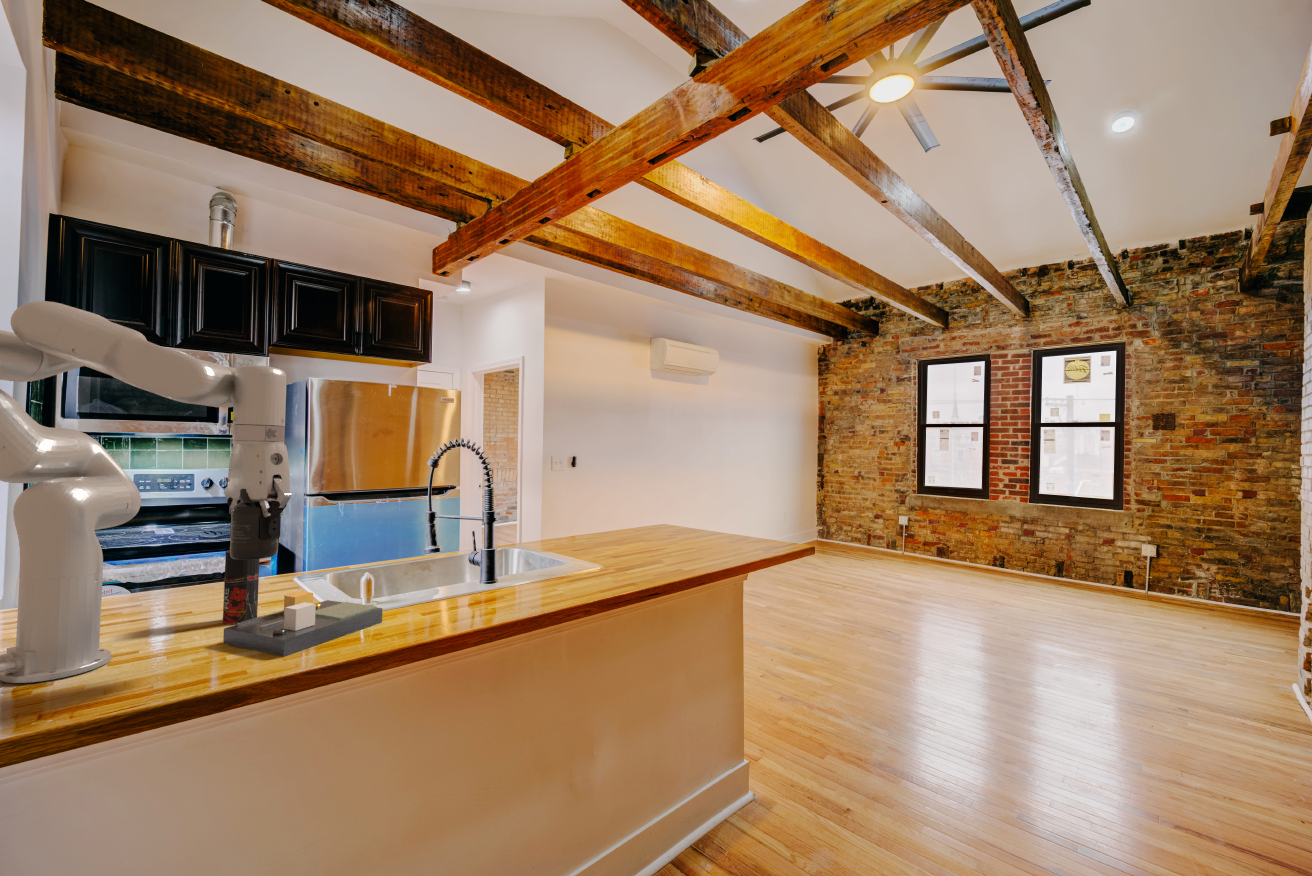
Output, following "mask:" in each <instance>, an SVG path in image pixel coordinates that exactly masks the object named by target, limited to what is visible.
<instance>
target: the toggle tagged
mask: <svg viewBox="0 0 1312 876" xmlns="http://www.w3.org/2000/svg"><path fill="white" fill-rule="evenodd" d="M283 600H284V602H283V610H284V616H285V607H289V606H293V605H296V604H300V603H304V602H305V603H312V604H313V603H314V592H311V591H299V592H295V593H291V594H286V595H284V597H283Z"/></svg>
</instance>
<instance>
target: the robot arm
mask: <svg viewBox="0 0 1312 876" xmlns="http://www.w3.org/2000/svg"><path fill="white" fill-rule="evenodd" d="M10 326H11V330H12V331H13V332H12V331H8V330H4V329H0V381H7V382H14V383H15V382H18V383H19V382H22V383H24V382H27V383H28V382H35V381H39V380H43V379H46V378H51V377H53V376H56V375H59V374H63V373H66V372H69V371H72V370H75V369H79V368H82V367H87V368H90V369H92V370H95V371H97V372H100V373H103V374H105V375H108V376H111V377H113V378H114V379H117V380H119V381H121V382H123V383H125V384H128V385H130V386H133V387H136V388H138V389H140V390H143V391H147V392H149V393H152V394H155V395H158V396H160V397H163V398H166V399H169V400H172V401H175V402H180V403H184V404H192V405H201V406H207V407H214V408H232V409H233V410H232V411H233V413H232V434H231V435H232V436H231V437H232V438H231V439H232V440H231V444H232V448H231V451H230V459H229V466H228V475H227V486H226V487H225V488H224V490H223V494H224V497H225V499H226V503H227V506H228V507H229V510H228V512H229V514H230V516H231V515H232V509H233V507H234V506H235V505H236V504H238V503H240V502H241V499H239V496H240V489H246V492H247V493H248V496H249V497H250V500H252V501H259V502H260V505H261V509H262V512H263V515H264V517H260V540H270V539H277V538H278V539H279V538H281V524H282V523H281V521H282V516H283V515H284V510H285V509H286V508H287V506H288V503H289V501H290V499H291V498H292V493H291V491H290V489H291V482H290V481H291V480H290V479H291V477H290V476H291V475H290V472H291V471H290V460H289V459H290V458H289V454H288V448H287V445H286V444H285V434H286V432H285V431H286V405H287V403H286V402H287V374H286V372H285V371H284V370H282V368H278V367H273V366H268V365H259V364H257V365H253V364H251V365H250V364H249V365H247V364H245V365H241V366H238V367H233V366H232V367H231V366H227V365H222V364H220V363H215V362H211V361H207V360H204V359H199V358H196V357H192V356H189V355H186V354H183V353H180V352H178V351H174V350H172V349H169V348H167V347H163V346H162V345H161V346H160V345H158V344H156V343H153V342H151V341H148V340H147V338H146V336H145V335H144V334H143V333H141V332H140V331H137V330H135V329H133V328H130V327H127V326H124V325H121V324H118V323H115V322H112V321H110V320H109V319H107V318H106V317H104V316H101V315H100V314H96V313H94V312H91V311H87V310H85V309H80V308H77V307H73V306H70V305H66V304H64V303H59V302H56V301H47V300H38V301H30V302H27V303H25V304H24V303H23V304H22V305H20V306H19V307H18V308H17V307H16V309H15V310H14V311H13V313H12V315H11V317H10ZM0 482H4V483H10V484H32V485H30V486H27V488H26V489H24V490H23V491H21V493H20V494H19V495H18V496H17V498H16V500H15V502H14V505H13V511H12V512H13V513H12V514H13V521H14V525H15V530H16V533H17V534H16V535H17V538H18V547H19V573H18V575H19V576H18V578H19V581H18V597H17V618H16V619H17V620H16V637H15V646H11V647H8V648H6V653H4V654H3V653H2V654H0V681H1V682H4V683H7V684H8V683H9V684H28V683H30V684H31V683H39V682H47V681H53V680H57V679H62V678H66V677H71V676H76V675H79V674H82V673H86V672H89V671H93V670H95V669H97V668H98V669H99V668H100V667H102V666H104V665H105V664H107V663H108V662H110V661H111V659H112V652H111V651H110V650H109V649H105V648H100V638H101V635H100V634H101V621H102V620H101V617H102V616H101V615H102V597H103V594H102V593H103V577H104V570H103V569H104V555H103V550H102V547H101V544H100V542H99V540H98V537H97V534H96V532H95V531H97V530H102V529H108V528H109V529H110V528H113V527H117V526H121V525H123V524H126V523H127V522H129V521H131V520H132V519H133V518H134V517H135V516H137V514H138V513H139V511H140V508H141V504H142V498H141V494H140V490H139V488H138V487H137V485H136V483H135V482H134V481H133V480H132V479H131V477H130V476H129V475H128V474H127V472H125V470H124V469H123V468H122V467H121V466H120V464H119V463H117V461H116V460H115V459H114V458H113V457H112V456H111V455H110V454H109V452H108V451H107V450H106V449H105V448H104V447H103V445H102V444H100V442H99V441H97V440H96V439H95V438H93V437H91V436H90V435H88V434H87V433H84V432H82V431H79V430H76V429H71V428H65V427H64V428H62V427H49V426H45V425H41V424H39V423H38V422H37V421H36V420H35V419H34V418H32V417H31V416H30V415H29V414H28V413H27V412H26V410H25V409H24V408H23V407H22V406H21V405H20V404H19V402H18V401H17V400H16V399H15V398H13V397H12V396H11V395H9V393H7V392H6V391H4V390H3V389H1V388H0ZM33 483H34V484H33ZM270 496H272V498H268V497H270ZM268 503H273V504H272V505H271V506H270V508H269V505H268ZM229 535H230V537H231V528H230V533H229Z"/></svg>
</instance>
